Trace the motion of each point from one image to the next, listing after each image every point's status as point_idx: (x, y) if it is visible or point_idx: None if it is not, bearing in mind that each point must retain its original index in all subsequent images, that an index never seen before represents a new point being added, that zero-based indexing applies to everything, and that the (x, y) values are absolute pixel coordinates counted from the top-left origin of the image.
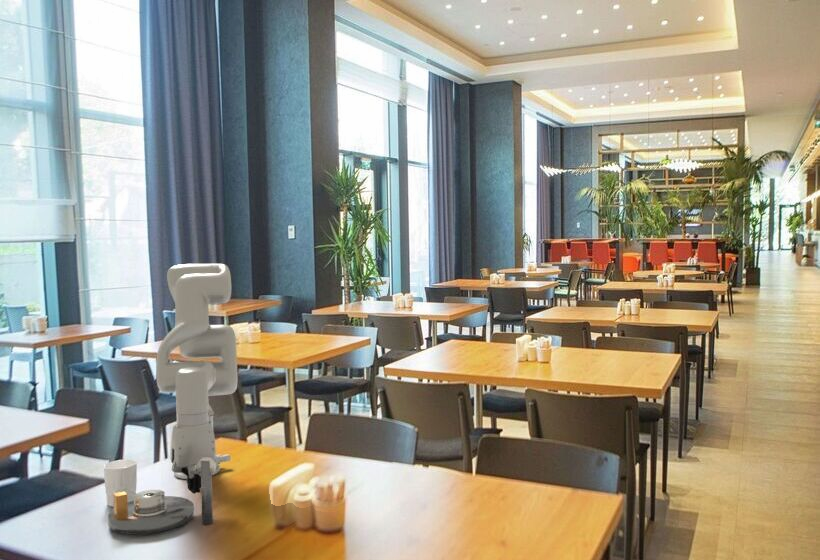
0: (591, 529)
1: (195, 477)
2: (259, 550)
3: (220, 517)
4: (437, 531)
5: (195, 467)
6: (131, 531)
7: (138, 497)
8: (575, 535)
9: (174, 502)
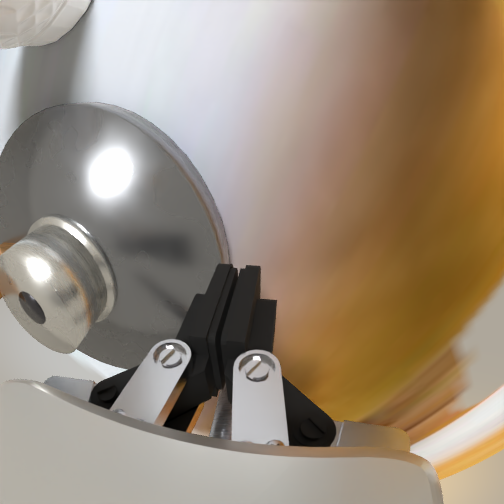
0: (474, 464)
1: (221, 386)
2: None
3: (296, 347)
4: (438, 461)
5: (232, 405)
6: None
7: (11, 304)
8: (461, 468)
9: (151, 245)
